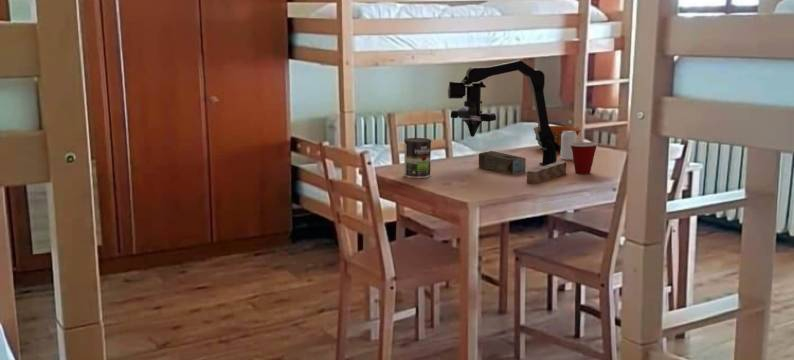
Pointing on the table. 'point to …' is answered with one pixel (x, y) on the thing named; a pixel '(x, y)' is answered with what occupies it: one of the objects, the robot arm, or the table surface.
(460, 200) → the table surface
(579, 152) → the plastic cup
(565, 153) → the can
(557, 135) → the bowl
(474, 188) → the table surface
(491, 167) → the beverage carton
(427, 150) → the coffee can
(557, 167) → the batten
